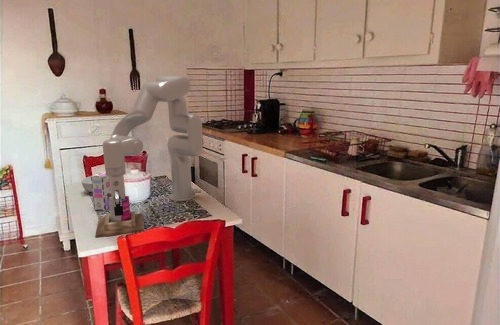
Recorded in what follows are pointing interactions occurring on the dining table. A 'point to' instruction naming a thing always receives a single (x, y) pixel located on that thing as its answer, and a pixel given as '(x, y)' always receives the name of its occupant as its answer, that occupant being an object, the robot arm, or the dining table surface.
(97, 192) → the candy box
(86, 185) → the cereal bowl
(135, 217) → the walnut stand
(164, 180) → the dining table surface
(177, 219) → the dining table surface
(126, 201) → the supplement box
